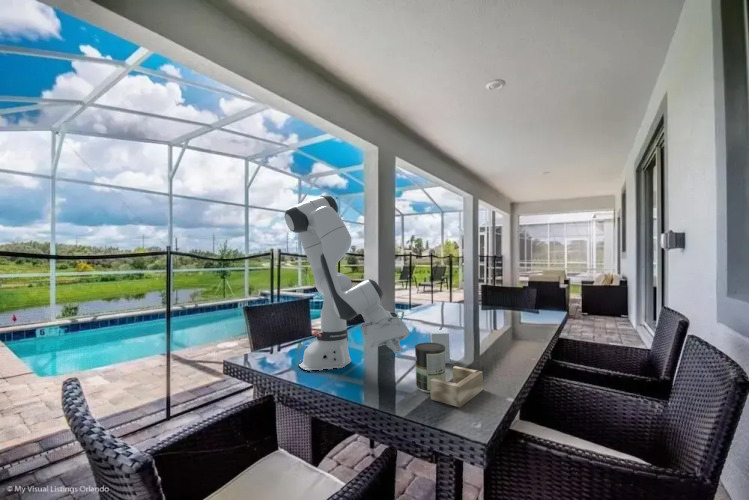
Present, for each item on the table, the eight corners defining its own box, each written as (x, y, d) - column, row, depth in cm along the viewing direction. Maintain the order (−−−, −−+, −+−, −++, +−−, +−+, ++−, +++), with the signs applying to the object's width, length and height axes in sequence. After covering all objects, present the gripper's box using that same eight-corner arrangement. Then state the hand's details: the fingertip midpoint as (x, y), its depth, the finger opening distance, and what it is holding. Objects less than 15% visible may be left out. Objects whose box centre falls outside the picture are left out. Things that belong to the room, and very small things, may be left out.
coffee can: (412, 391, 116) (411, 348, 116) (420, 380, 125) (419, 341, 125) (442, 395, 112) (441, 351, 112) (448, 383, 121) (447, 343, 121)
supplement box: (448, 358, 151) (447, 329, 151) (450, 363, 143) (449, 333, 144) (431, 358, 151) (430, 329, 152) (432, 363, 144) (431, 333, 144)
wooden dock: (430, 399, 109) (430, 380, 109) (455, 383, 122) (455, 366, 122) (459, 407, 102) (459, 387, 102) (483, 389, 115) (482, 371, 115)
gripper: (362, 319, 122) (383, 352, 115) (399, 312, 137) (420, 341, 129) (354, 330, 125) (374, 363, 118) (391, 322, 140) (411, 351, 132)
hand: (398, 351), depth 124 cm, fingers closed
